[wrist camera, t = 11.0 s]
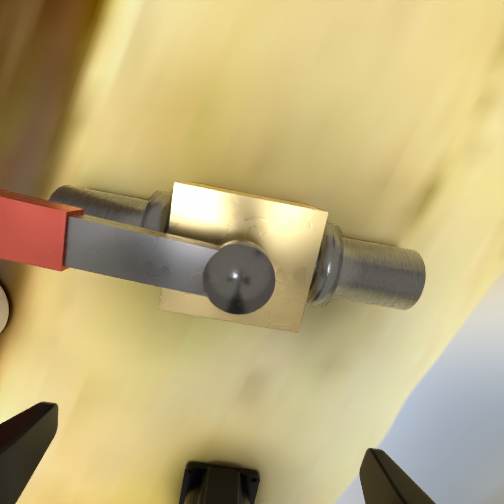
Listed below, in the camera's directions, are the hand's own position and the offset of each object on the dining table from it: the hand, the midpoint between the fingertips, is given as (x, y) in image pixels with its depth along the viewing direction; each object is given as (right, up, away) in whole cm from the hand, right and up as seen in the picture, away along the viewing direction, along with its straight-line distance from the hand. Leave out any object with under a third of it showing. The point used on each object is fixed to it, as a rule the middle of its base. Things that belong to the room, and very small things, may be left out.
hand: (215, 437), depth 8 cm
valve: (0, +6, +12) cm, 13 cm away
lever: (-5, +6, +5) cm, 9 cm away
